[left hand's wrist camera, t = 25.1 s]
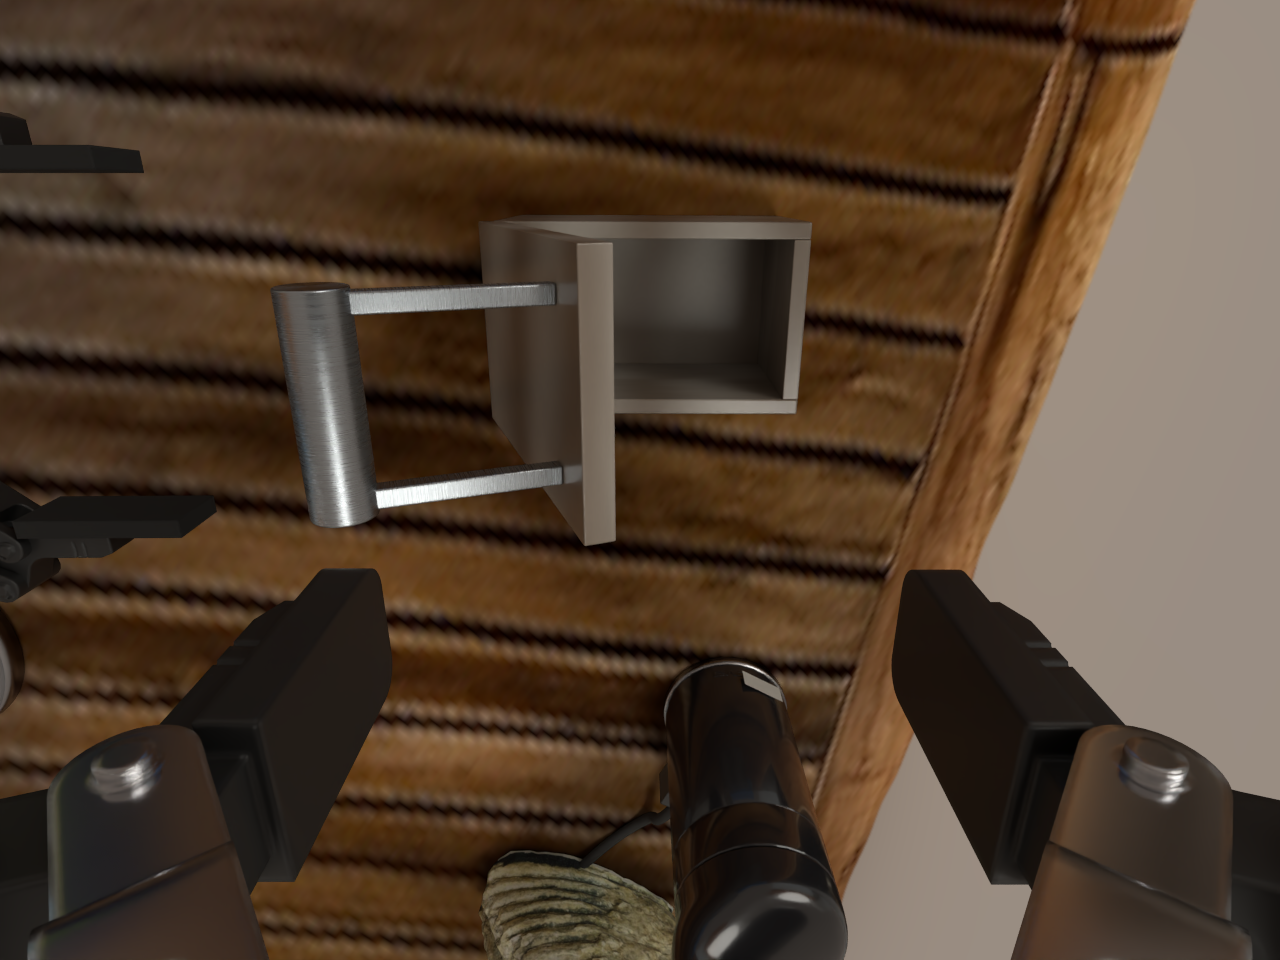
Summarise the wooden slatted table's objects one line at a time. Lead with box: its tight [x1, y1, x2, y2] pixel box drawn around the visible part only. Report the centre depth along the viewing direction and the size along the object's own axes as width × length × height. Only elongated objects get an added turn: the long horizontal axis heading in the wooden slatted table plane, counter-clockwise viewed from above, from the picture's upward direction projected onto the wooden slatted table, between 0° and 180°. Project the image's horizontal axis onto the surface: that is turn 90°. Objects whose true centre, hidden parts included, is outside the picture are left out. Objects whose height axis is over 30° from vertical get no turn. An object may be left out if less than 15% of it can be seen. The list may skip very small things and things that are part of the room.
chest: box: [497, 215, 812, 414], centre depth 42 cm, size 15×10×10 cm, turn 90°
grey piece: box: [271, 221, 616, 546], centre depth 29 cm, size 16×10×9 cm
